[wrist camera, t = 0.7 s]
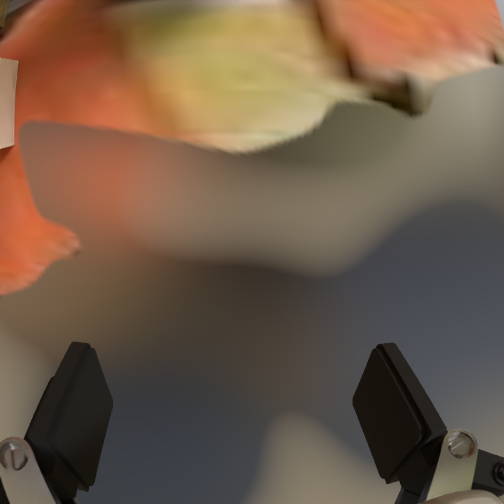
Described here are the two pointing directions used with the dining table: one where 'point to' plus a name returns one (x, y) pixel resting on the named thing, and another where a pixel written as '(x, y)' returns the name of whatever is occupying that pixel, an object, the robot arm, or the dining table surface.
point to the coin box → (7, 100)
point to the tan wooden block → (3, 11)
